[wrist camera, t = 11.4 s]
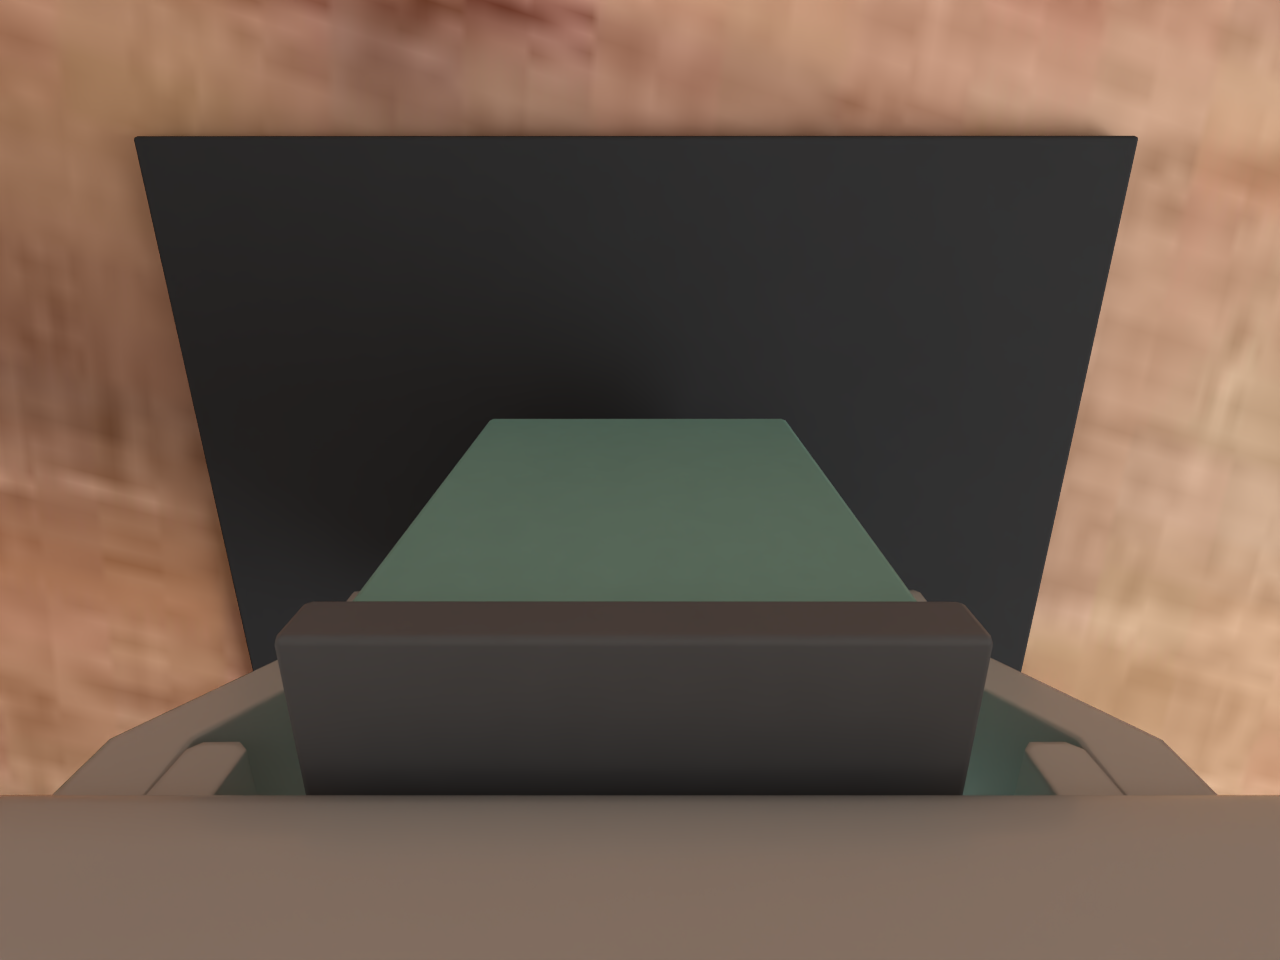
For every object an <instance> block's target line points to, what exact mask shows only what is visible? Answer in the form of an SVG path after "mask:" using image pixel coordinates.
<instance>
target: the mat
mask: <svg viewBox="0 0 1280 960" xmlns="http://www.w3.org/2000/svg"><path fill="white" fill-rule="evenodd" d="M134 141H135V146H136V150H137V155H138V159H139V164H140V168H141V173H142V177H143V182H144V186H145V191H146V195H147V199H148V204H149V208H150V213H151V217H152V222H153V226H154V231H155V235H156V240H157V244H158V249H159V253H160V257H161V262H162V266H163V271H164V275H165V280H166V284H167V289H168V293H169V298H170V302H171V307H172V311H173V315H174V320H175V324H176V329H177V333H178V338H179V342H180V347H181V351H182V356H183V360H184V365H185V369H186V374H187V378H188V382H189V387H190V391H191V396H192V400H193V405H194V409H195V414H196V418H197V423H198V427H199V432H200V436H201V440H202V445H203V449H204V454H205V458H206V463H207V467H208V472H209V476H210V481H211V485H212V490H213V494H214V498H215V503H216V507H217V512H218V516H219V521H220V525H221V530H222V534H223V539H224V543H225V548H226V552H227V556H228V561H229V565H230V570H231V574H232V579H233V583H234V588H235V592H236V597H237V601H238V606H239V610H240V614H241V619H242V623H243V628H244V632H245V637H246V641H247V646H248V650H249V655H250V659H251V664H252V668H253V671H255V670H257V669H259V668H261V667H263V666H265V665H268V664H270V663H272V662H274V661H276V660H278V659H277V655H276V650H275V640H276V636H277V634H278V633H279V632H280V631H281V630H282V629H283V628H284V627H285V625H286V624H287V623H288V622H289V621H290V620H291V619H292V617H293V616H294V615H295V614H296V613H297V612H298V611H299V610H300V608H301V607H302V606H303V605H304V604H306V603H309V602H313V601H347V600H348V598H349V597H350V596H351V595H352V594H353V593H354V592H357V591H361V589H362V588H363V587H364V585H365V584H366V583H367V581H368V580H369V579H370V577H371V576H372V575H373V574H374V572H375V571H376V570H377V568H378V567H379V566H380V564H381V563H382V562H383V560H384V559H385V558H386V556H387V555H388V554H389V552H390V551H391V550H392V549H393V547H394V546H395V545H396V543H397V542H398V541H399V539H400V538H401V537H402V535H403V534H404V533H405V531H406V530H407V529H408V528H409V526H410V525H411V524H412V522H413V521H414V520H415V518H416V517H417V516H418V514H419V513H420V512H421V510H422V509H423V508H424V507H425V505H426V504H427V503H428V501H429V500H430V499H431V497H432V496H433V495H434V493H435V492H436V491H437V489H438V488H439V487H440V485H441V484H442V483H443V482H444V480H445V479H446V478H447V476H448V475H449V474H450V472H451V471H452V470H453V468H454V467H455V466H456V464H457V463H458V462H459V461H460V459H461V458H462V457H463V455H464V454H465V453H466V451H467V450H468V449H469V447H470V446H471V445H472V443H473V442H474V441H475V439H476V438H477V437H478V436H479V434H480V433H481V432H482V430H483V429H484V428H485V426H486V425H487V424H488V422H489V421H490V420H492V419H783V420H785V421H786V422H787V423H788V425H789V426H790V427H791V429H792V430H793V432H794V433H795V434H796V436H797V437H798V438H799V440H800V441H801V443H802V444H803V445H804V447H805V448H806V449H807V451H808V452H809V454H810V455H811V456H812V458H813V459H814V460H815V462H816V463H817V465H818V466H819V467H820V469H821V470H822V471H823V473H824V474H825V476H826V477H827V478H828V480H829V481H830V482H831V484H832V485H833V487H834V488H835V489H836V491H837V492H838V493H839V495H840V496H841V498H842V499H843V500H844V502H845V503H846V504H847V506H848V507H849V509H850V510H851V511H852V513H853V514H854V515H855V517H856V518H857V520H858V521H859V522H860V524H861V525H862V526H863V528H864V529H865V531H866V532H867V533H868V535H869V536H870V537H871V539H872V540H873V542H874V543H875V544H876V546H877V547H878V548H879V550H880V551H881V553H882V554H883V555H884V557H885V558H886V559H887V561H888V562H889V564H890V565H891V566H892V568H893V569H894V570H895V572H896V573H897V575H898V576H899V577H900V579H901V580H902V581H903V583H904V584H905V586H906V587H907V588H908V590H915V591H917V592H920V593H921V594H922V596H923V597H924V598H925V599H926V601H927V602H959V603H962V604H964V605H965V606H966V607H967V608H968V609H969V611H970V612H971V613H972V614H973V615H974V616H975V618H976V619H977V620H978V621H979V622H980V624H981V625H982V626H983V627H984V628H985V630H986V631H987V632H988V633H989V634H990V635H991V639H992V643H993V647H992V652H991V657H990V658H992V659H994V660H996V661H998V662H1000V663H1003V664H1005V665H1007V666H1009V667H1011V668H1013V669H1015V670H1017V671H1019V672H1021V669H1022V665H1023V660H1024V656H1025V651H1026V647H1027V642H1028V638H1029V633H1030V628H1031V624H1032V619H1033V615H1034V610H1035V606H1036V601H1037V597H1038V592H1039V587H1040V583H1041V578H1042V574H1043V569H1044V565H1045V560H1046V556H1047V551H1048V546H1049V542H1050V537H1051V533H1052V528H1053V524H1054V519H1055V515H1056V510H1057V505H1058V501H1059V496H1060V492H1061V487H1062V483H1063V478H1064V474H1065V469H1066V464H1067V460H1068V455H1069V451H1070V446H1071V442H1072V437H1073V433H1074V428H1075V423H1076V419H1077V414H1078V410H1079V405H1080V401H1081V396H1082V392H1083V387H1084V382H1085V378H1086V373H1087V369H1088V364H1089V360H1090V355H1091V351H1092V346H1093V341H1094V337H1095V332H1096V328H1097V323H1098V319H1099V314H1100V310H1101V305H1102V300H1103V296H1104V291H1105V287H1106V282H1107V278H1108V273H1109V269H1110V264H1111V259H1112V255H1113V250H1114V246H1115V241H1116V237H1117V232H1118V228H1119V223H1120V218H1121V214H1122V209H1123V205H1124V200H1125V196H1126V191H1127V187H1128V182H1129V177H1130V173H1131V168H1132V164H1133V159H1134V155H1135V150H1136V146H1137V141H1138V137H1136V136H137V137H135V138H134Z"/></svg>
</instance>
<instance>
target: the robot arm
mask: <svg viewBox="0 0 1280 960" xmlns="http://www.w3.org/2000/svg"><path fill="white" fill-rule="evenodd" d="M909 591H910V592H911V594H912V595H913V597H914V598H915V599H916V601H917V602H927V601H926V599H925V598H924V597H923V596H922V594H921V593H920V592H917V591H915V590H909ZM359 592H360V591H357V592H354V593H353V594H352V595H351V596H350V597H349V598H348V600H347V601H353V600H354V598H355V597H356V596H357V595H358V593H359ZM0 960H1280V795H1217V794H1216V793H1215V792H1214V791H1213V790H1212V789H1211V788H1210V787H1209V786H1208V785H1207V784H1206V783H1205V782H1204V781H1203V780H1202V779H1201V778H1200V777H1199V776H1198V775H1197V774H1196V773H1195V772H1194V771H1193V770H1192V769H1191V768H1190V767H1189V766H1188V765H1187V764H1186V763H1185V762H1184V761H1183V760H1182V759H1181V758H1180V757H1179V756H1178V755H1177V754H1176V753H1175V752H1174V751H1173V750H1172V749H1171V748H1170V747H1169V746H1168V745H1167V744H1166V743H1165V742H1164V741H1163V740H1161V739H1159V738H1157V737H1155V736H1153V735H1151V734H1148V733H1146V732H1144V731H1142V730H1140V729H1138V728H1136V727H1134V726H1132V725H1130V724H1128V723H1126V722H1123V721H1121V720H1119V719H1117V718H1115V717H1113V716H1111V715H1109V714H1107V713H1105V712H1103V711H1101V710H1098V709H1096V708H1094V707H1092V706H1090V705H1088V704H1086V703H1084V702H1082V701H1080V700H1078V699H1076V698H1073V697H1071V696H1069V695H1067V694H1065V693H1063V692H1061V691H1059V690H1057V689H1055V688H1053V687H1050V686H1048V685H1046V684H1044V683H1042V682H1040V681H1038V680H1036V679H1034V678H1032V677H1030V676H1028V675H1025V674H1023V673H1021V672H1019V671H1017V670H1015V669H1013V668H1011V667H1009V666H1007V665H1005V664H1003V663H1000V662H998V661H996V660H994V659H992V658H990V662H989V667H988V672H987V677H986V682H985V687H984V692H983V697H982V702H981V707H980V712H979V717H978V721H977V726H976V731H975V736H974V741H973V746H972V751H971V756H970V761H969V766H968V771H967V776H966V781H965V786H964V791H963V795H306V793H305V788H304V783H303V779H302V774H301V769H300V764H299V760H298V755H297V750H296V745H295V741H294V736H293V731H292V726H291V721H290V717H289V712H288V707H287V702H286V698H285V693H284V688H283V683H282V679H281V674H280V669H279V664H278V660H276V661H274V662H272V663H270V664H268V665H265V666H263V667H261V668H259V669H257V670H255V671H253V672H251V673H249V674H246V675H244V676H242V677H240V678H238V679H236V680H234V681H232V682H230V683H227V684H225V685H223V686H221V687H219V688H217V689H215V690H213V691H211V692H208V693H206V694H204V695H202V696H200V697H198V698H196V699H194V700H191V701H189V702H187V703H185V704H183V705H181V706H179V707H177V708H175V709H172V710H170V711H168V712H166V713H164V714H162V715H160V716H158V717H156V718H153V719H151V720H149V721H147V722H145V723H143V724H141V725H139V726H137V727H134V728H132V729H130V730H128V731H126V732H124V733H122V734H120V735H118V736H115V737H113V738H111V739H110V740H108V741H107V742H106V743H105V744H104V745H103V746H102V747H101V748H100V749H99V750H98V751H97V752H96V753H95V754H94V755H93V756H92V757H91V758H90V759H89V760H88V761H87V762H86V763H85V764H84V765H83V766H82V767H81V768H80V769H79V770H78V771H76V772H75V773H74V774H73V775H72V776H71V777H70V778H69V779H68V780H67V781H66V782H65V783H64V784H63V785H62V786H61V787H60V788H59V789H58V790H57V791H56V792H55V793H54V794H53V795H0Z"/></svg>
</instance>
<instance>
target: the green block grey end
mask: <svg viewBox="0 0 1280 960" xmlns="http://www.w3.org/2000/svg"><path fill="white" fill-rule="evenodd" d="M992 647H993V643H992V639H991V635H990V634H989V633H988V632H987V631H986V630H985V628H984V627H983V626H982V625H981V624H980V622H979V621H978V620H977V619H976V618H975V616H974V615H973V614H972V613H971V612H970V611H969V609H968V608H967V607H966V606H965V605H964V604H962V603H959V602H917V601H916V599H915V598H914V597H913V595H912V594H911V592H910V591H909V590H908V588H907V587H906V586H905V584H904V583H903V581H902V580H901V579H900V577H899V576H898V575H897V573H896V572H895V570H894V569H893V568H892V566H891V565H890V564H889V562H888V561H887V559H886V558H885V557H884V555H883V554H882V553H881V551H880V550H879V548H878V547H877V546H876V544H875V543H874V542H873V540H872V539H871V537H870V536H869V535H868V533H867V532H866V531H865V529H864V528H863V526H862V525H861V524H860V522H859V521H858V520H857V518H856V517H855V515H854V514H853V513H852V511H851V510H850V509H849V507H848V506H847V504H846V503H845V502H844V500H843V499H842V498H841V496H840V495H839V493H838V492H837V491H836V489H835V488H834V487H833V485H832V484H831V482H830V481H829V480H828V478H827V477H826V476H825V474H824V473H823V471H822V470H821V469H820V467H819V466H818V465H817V463H816V462H815V460H814V459H813V458H812V456H811V455H810V454H809V452H808V451H807V449H806V448H805V447H804V445H803V444H802V443H801V441H800V440H799V438H798V437H797V436H796V434H795V433H794V432H793V430H792V429H791V427H790V426H789V425H788V423H787V422H786V421H785V420H783V419H492V420H490V421H489V422H488V424H487V425H486V426H485V428H484V429H483V430H482V432H481V433H480V434H479V436H478V437H477V438H476V439H475V441H474V442H473V443H472V445H471V446H470V447H469V449H468V450H467V451H466V453H465V454H464V455H463V457H462V458H461V459H460V461H459V462H458V463H457V464H456V466H455V467H454V468H453V470H452V471H451V472H450V474H449V475H448V476H447V478H446V479H445V480H444V482H443V483H442V484H441V485H440V487H439V488H438V489H437V491H436V492H435V493H434V495H433V496H432V497H431V499H430V500H429V501H428V503H427V504H426V505H425V507H424V508H423V509H422V510H421V512H420V513H419V514H418V516H417V517H416V518H415V520H414V521H413V522H412V524H411V525H410V526H409V528H408V529H407V530H406V531H405V533H404V534H403V535H402V537H401V538H400V539H399V541H398V542H397V543H396V545H395V546H394V547H393V549H392V550H391V551H390V552H389V554H388V555H387V556H386V558H385V559H384V560H383V562H382V563H381V564H380V566H379V567H378V568H377V570H376V571H375V572H374V574H373V575H372V576H371V577H370V579H369V580H368V581H367V583H366V584H365V585H364V587H363V588H362V589H361V591H360V592H359V593H358V595H357V596H356V597H355V598H354V600H353V601H313V602H309V603H306V604H304V605H303V606H302V607H301V608H300V610H299V611H298V612H297V613H296V614H295V615H294V616H293V617H292V619H291V620H290V621H289V622H288V623H287V624H286V625H285V627H284V628H283V629H282V630H281V631H280V632H279V633H278V634H277V636H276V640H275V650H276V655H277V659H278V664H279V669H280V674H281V679H282V683H283V688H284V693H285V698H286V702H287V707H288V712H289V717H290V721H291V726H292V731H293V736H294V741H295V745H296V750H297V755H298V760H299V764H300V769H301V774H302V779H303V783H304V788H305V793H306V795H963V791H964V786H965V781H966V776H967V771H968V766H969V761H970V756H971V751H972V746H973V741H974V736H975V731H976V726H977V721H978V717H979V712H980V707H981V702H982V697H983V692H984V687H985V682H986V677H987V672H988V667H989V662H990V657H991V652H992Z"/></svg>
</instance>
